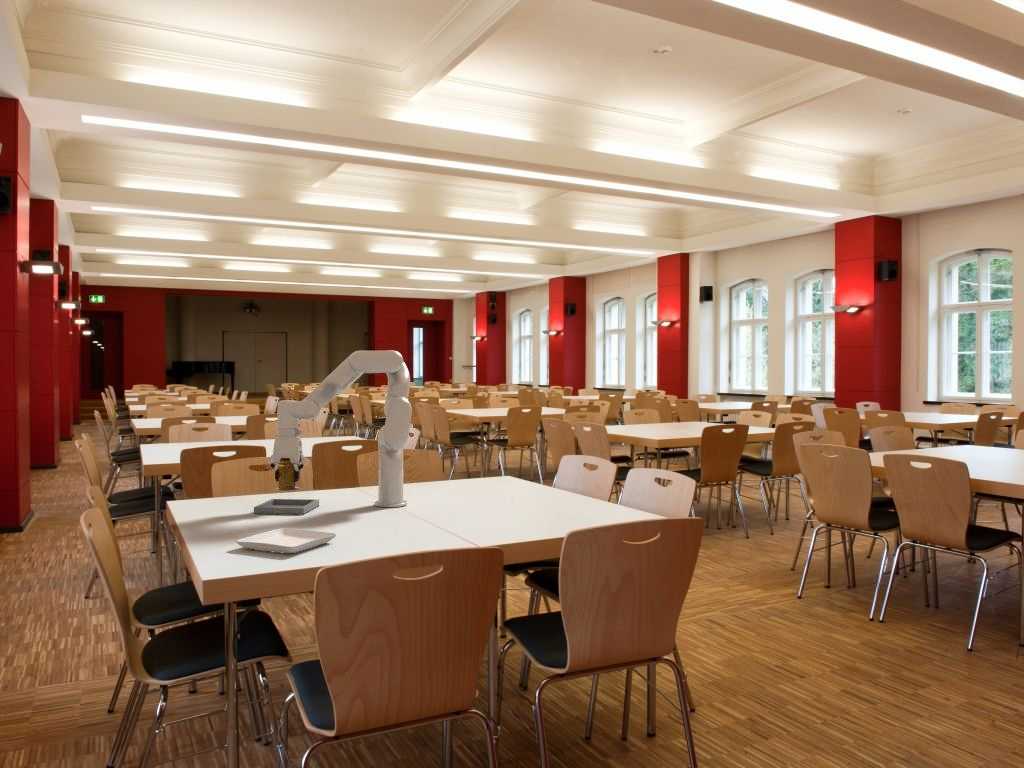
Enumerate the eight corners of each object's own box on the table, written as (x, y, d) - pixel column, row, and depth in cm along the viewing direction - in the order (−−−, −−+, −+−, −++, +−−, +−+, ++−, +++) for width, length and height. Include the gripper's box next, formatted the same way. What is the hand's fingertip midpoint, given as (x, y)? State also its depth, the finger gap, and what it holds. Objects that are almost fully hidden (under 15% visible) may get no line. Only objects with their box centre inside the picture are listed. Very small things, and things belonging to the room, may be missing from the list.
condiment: (274, 489, 287) (274, 457, 287) (296, 487, 292) (296, 455, 292) (281, 491, 281) (281, 459, 281) (304, 489, 286) (304, 457, 286)
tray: (272, 505, 296) (272, 498, 296) (319, 506, 296) (319, 499, 296) (253, 514, 278) (253, 507, 278) (303, 514, 277) (303, 508, 277)
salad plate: (281, 537, 242) (281, 526, 242) (338, 543, 234) (338, 532, 234) (233, 551, 222) (233, 539, 222) (293, 559, 214) (293, 546, 214)
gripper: (313, 432, 290) (313, 480, 290) (268, 432, 291) (268, 479, 291) (307, 434, 282) (306, 483, 282) (261, 433, 283) (260, 482, 283)
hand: (287, 480), depth 287 cm, fingers closed on condiment, 6 cm apart
